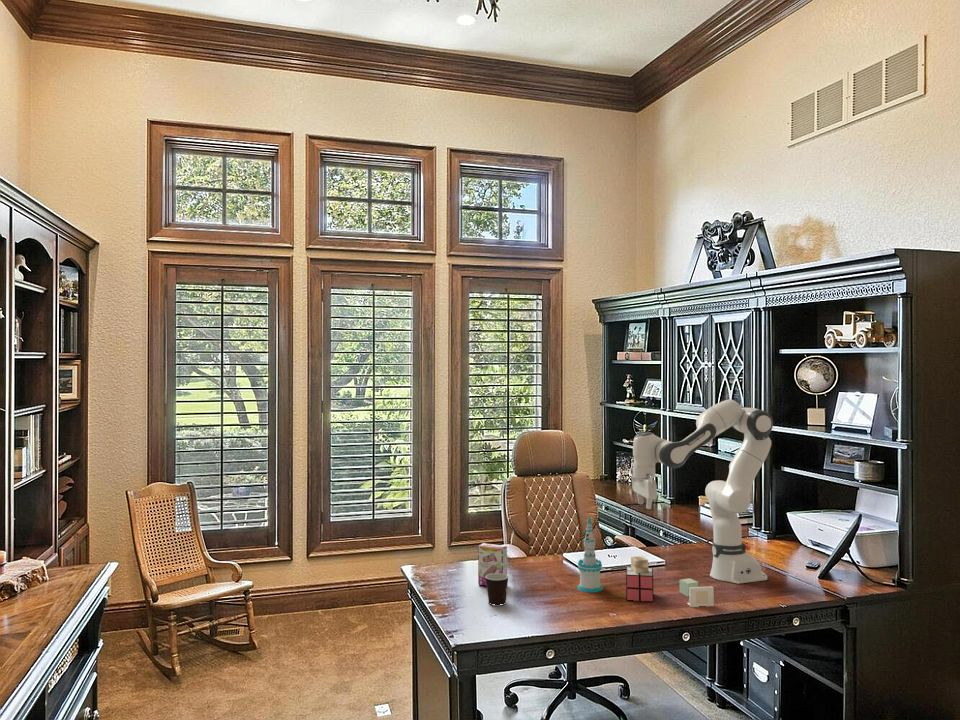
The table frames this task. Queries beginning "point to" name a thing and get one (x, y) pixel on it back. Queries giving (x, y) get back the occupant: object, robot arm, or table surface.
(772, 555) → the table surface
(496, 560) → the candy bar box
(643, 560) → the beech block
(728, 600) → the table surface
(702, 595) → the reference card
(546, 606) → the table surface
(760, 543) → the table surface
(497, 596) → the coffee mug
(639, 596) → the puzzle cube
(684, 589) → the sage block
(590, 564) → the model tower
